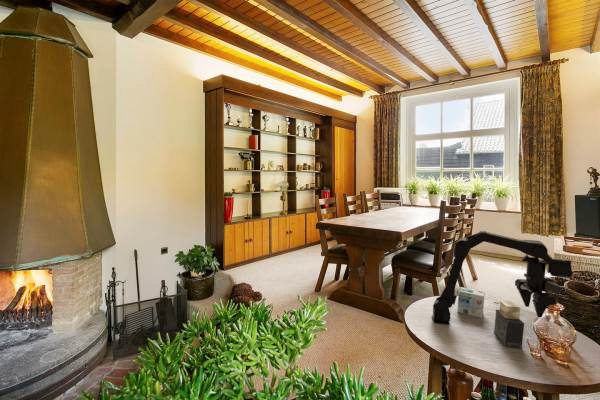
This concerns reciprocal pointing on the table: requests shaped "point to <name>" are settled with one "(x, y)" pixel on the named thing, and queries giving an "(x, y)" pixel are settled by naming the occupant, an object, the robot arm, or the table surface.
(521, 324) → the small box
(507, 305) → the birch cube
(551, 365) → the table surface
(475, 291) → the light bulb box
